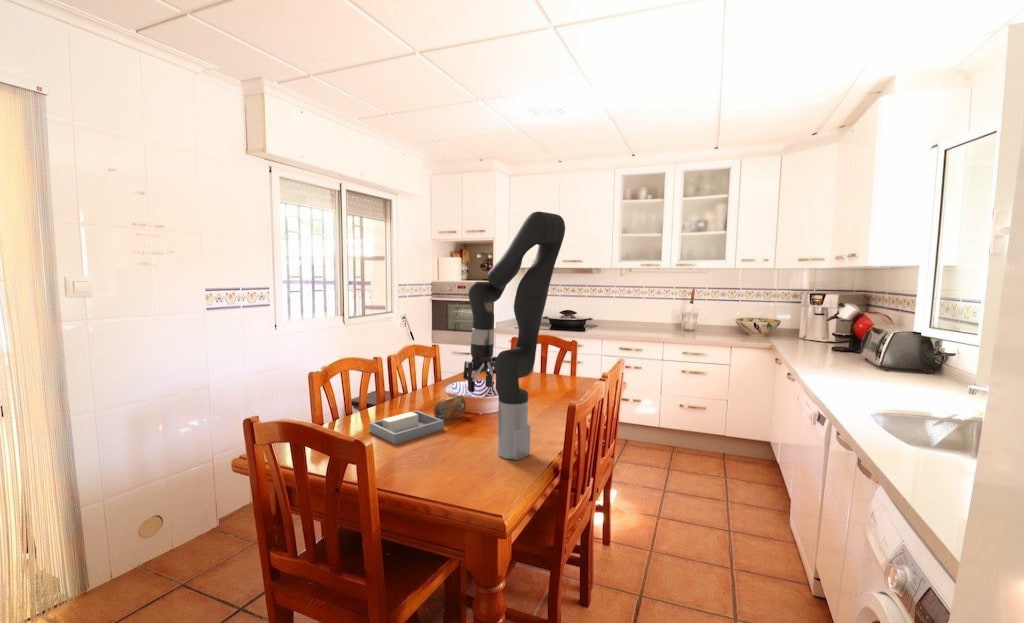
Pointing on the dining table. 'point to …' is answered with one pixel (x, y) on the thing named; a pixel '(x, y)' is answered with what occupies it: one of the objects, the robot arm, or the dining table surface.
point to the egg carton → (400, 421)
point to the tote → (408, 429)
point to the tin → (450, 408)
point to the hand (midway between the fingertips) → (480, 389)
